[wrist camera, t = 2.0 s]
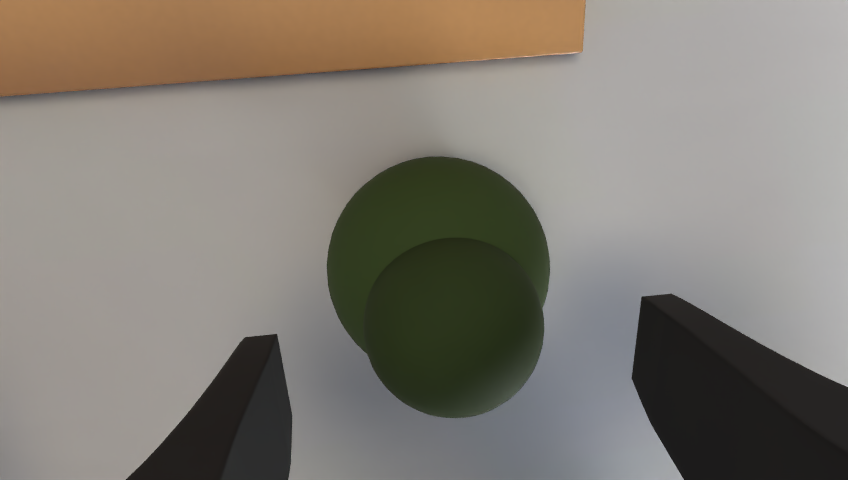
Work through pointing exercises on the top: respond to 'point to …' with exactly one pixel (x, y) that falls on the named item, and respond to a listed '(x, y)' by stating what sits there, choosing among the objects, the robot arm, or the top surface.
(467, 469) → the top surface
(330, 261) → the avocado
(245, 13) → the board
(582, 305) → the top surface
